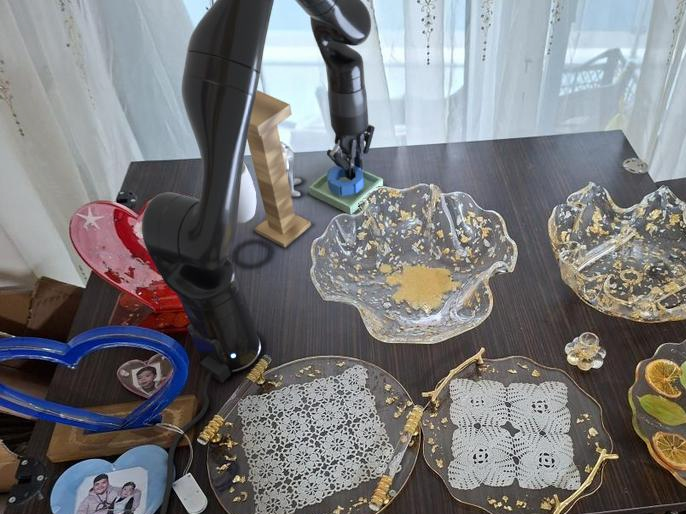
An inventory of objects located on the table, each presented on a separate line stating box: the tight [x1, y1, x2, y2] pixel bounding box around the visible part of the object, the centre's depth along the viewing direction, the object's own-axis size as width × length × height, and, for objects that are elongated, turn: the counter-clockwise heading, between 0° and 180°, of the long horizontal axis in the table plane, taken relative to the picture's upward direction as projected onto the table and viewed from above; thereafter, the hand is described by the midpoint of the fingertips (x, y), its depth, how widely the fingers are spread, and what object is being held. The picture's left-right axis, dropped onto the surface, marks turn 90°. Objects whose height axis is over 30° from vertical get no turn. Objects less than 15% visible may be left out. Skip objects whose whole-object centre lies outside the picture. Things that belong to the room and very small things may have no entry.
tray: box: [308, 164, 384, 215], centre depth 133 cm, size 11×11×2 cm
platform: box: [247, 89, 312, 249], centre depth 115 cm, size 8×8×28 cm
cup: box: [237, 161, 257, 224], centre depth 113 cm, size 7×7×21 cm
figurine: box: [280, 141, 302, 198], centre depth 129 cm, size 7×4×12 cm, turn 4°
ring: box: [326, 165, 364, 196], centre depth 131 cm, size 8×8×2 cm
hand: (354, 175), depth 133 cm, fingers closed on ring, 1 cm apart
